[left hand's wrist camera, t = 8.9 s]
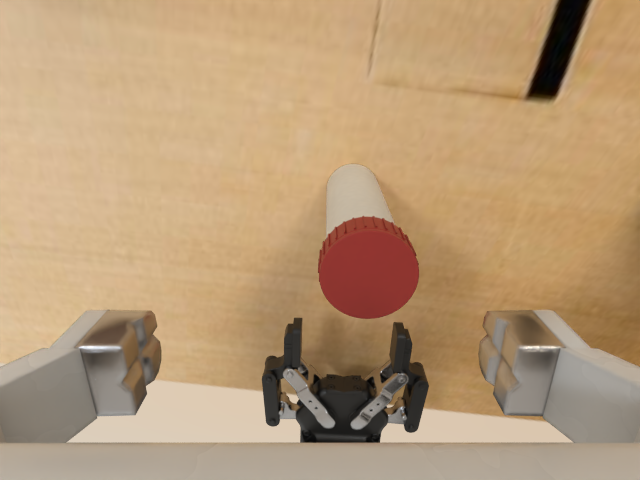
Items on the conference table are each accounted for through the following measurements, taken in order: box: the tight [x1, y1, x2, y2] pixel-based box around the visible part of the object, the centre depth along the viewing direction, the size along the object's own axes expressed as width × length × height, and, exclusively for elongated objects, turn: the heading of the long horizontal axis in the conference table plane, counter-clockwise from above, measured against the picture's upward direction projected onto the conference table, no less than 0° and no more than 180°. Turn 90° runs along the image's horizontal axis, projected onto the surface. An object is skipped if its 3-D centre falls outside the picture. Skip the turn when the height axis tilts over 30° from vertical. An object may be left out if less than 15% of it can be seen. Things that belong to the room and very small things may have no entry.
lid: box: [318, 216, 419, 319], centre depth 23 cm, size 5×5×2 cm
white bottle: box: [326, 164, 395, 238], centre depth 29 cm, size 4×4×16 cm
